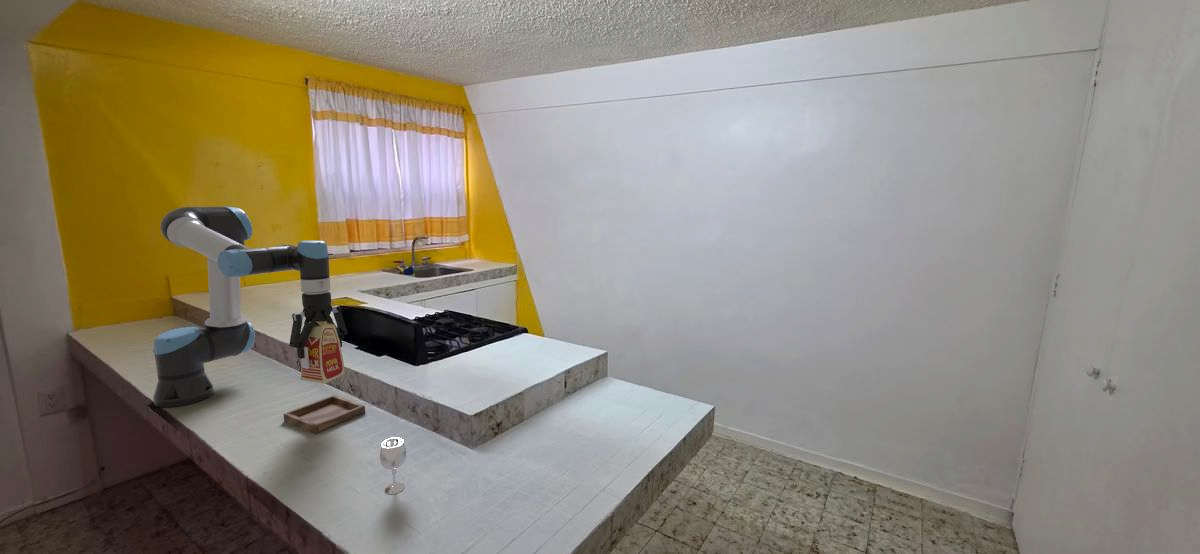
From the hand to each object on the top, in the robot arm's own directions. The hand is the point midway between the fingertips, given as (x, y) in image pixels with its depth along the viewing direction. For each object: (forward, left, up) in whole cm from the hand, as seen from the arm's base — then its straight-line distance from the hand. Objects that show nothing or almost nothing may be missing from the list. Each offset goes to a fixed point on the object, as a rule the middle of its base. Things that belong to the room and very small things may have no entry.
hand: (321, 362), depth 141 cm
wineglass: (+49, -14, -18) cm, 54 cm away
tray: (0, 0, -18) cm, 18 cm away
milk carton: (0, 0, -5) cm, 5 cm away
